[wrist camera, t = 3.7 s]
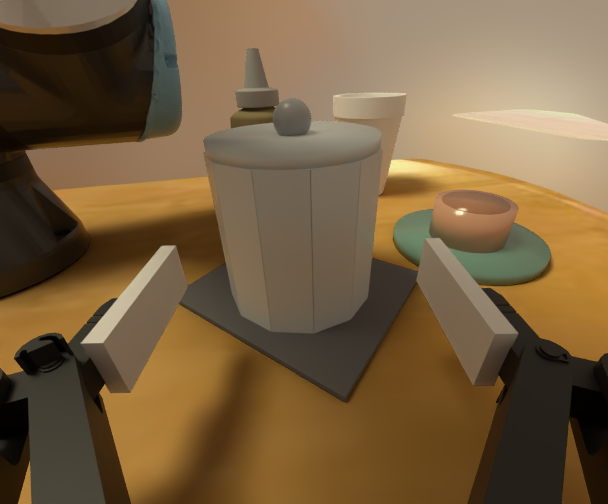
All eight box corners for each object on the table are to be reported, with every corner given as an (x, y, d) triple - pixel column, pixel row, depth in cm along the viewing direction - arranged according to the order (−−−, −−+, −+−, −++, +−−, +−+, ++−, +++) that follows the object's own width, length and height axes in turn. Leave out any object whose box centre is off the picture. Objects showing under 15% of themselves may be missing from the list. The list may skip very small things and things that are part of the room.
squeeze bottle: (308, 217, 37) (304, 45, 28) (246, 230, 35) (218, 45, 26) (287, 197, 44) (277, 51, 35) (232, 207, 41) (206, 52, 32)
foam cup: (401, 185, 47) (414, 92, 40) (383, 205, 40) (396, 97, 33) (346, 178, 51) (349, 92, 44) (321, 195, 44) (321, 97, 38)
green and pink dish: (371, 255, 29) (376, 211, 27) (415, 208, 39) (421, 172, 37) (546, 307, 22) (573, 254, 20) (546, 233, 32) (565, 191, 30)
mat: (172, 299, 24) (171, 296, 24) (279, 233, 34) (278, 229, 34) (344, 402, 16) (345, 397, 16) (420, 276, 26) (421, 272, 26)
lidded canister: (205, 296, 24) (155, 104, 17) (288, 240, 32) (277, 92, 24) (320, 358, 18) (319, 110, 11) (387, 272, 26) (411, 91, 19)
